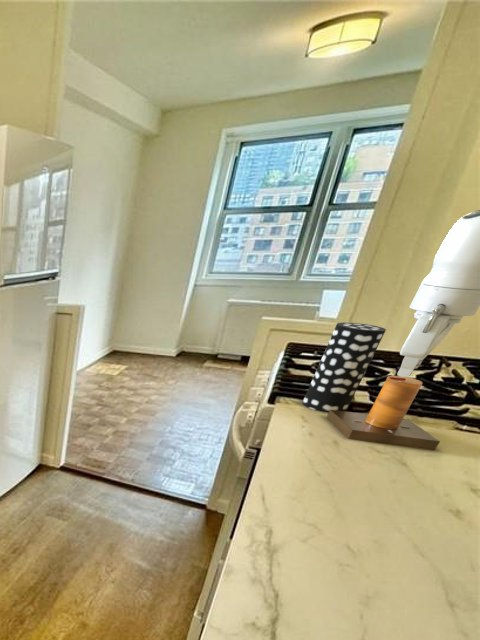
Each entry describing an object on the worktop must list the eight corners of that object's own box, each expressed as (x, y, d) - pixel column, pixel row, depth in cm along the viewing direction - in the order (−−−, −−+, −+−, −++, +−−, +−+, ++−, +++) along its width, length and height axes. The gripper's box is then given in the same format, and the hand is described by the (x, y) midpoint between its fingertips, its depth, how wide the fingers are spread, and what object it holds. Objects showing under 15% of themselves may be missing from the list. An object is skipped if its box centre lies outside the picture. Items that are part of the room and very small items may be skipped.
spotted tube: (316, 400, 123) (352, 321, 113) (353, 413, 116) (395, 329, 106) (293, 404, 120) (328, 323, 111) (329, 417, 113) (369, 332, 104)
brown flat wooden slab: (402, 429, 107) (408, 418, 106) (433, 452, 97) (440, 440, 96) (325, 419, 112) (330, 408, 111) (347, 440, 102) (352, 429, 101)
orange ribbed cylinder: (390, 421, 105) (415, 376, 100) (403, 430, 101) (429, 384, 96) (360, 417, 107) (383, 373, 102) (371, 426, 102) (395, 380, 98)
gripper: (462, 311, 84) (420, 386, 90) (475, 299, 95) (437, 366, 102) (412, 305, 88) (375, 377, 95) (430, 294, 100) (396, 359, 106)
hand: (407, 371), depth 98 cm, fingers open, 8 cm apart
